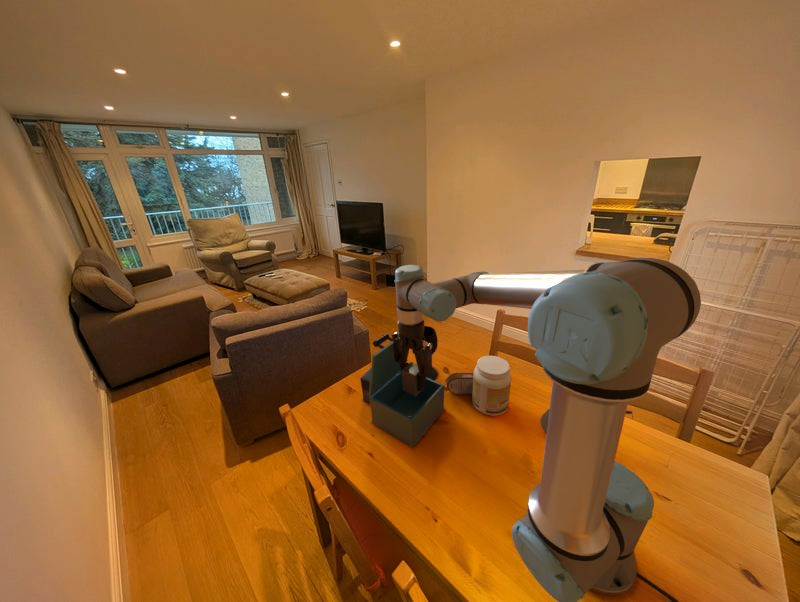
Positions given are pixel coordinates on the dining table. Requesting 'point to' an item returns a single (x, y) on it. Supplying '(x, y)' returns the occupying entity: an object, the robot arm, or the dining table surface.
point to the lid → (383, 365)
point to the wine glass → (432, 338)
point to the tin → (460, 383)
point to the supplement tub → (491, 385)
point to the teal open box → (407, 409)
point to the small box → (366, 385)
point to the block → (410, 379)
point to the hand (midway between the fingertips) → (413, 384)
